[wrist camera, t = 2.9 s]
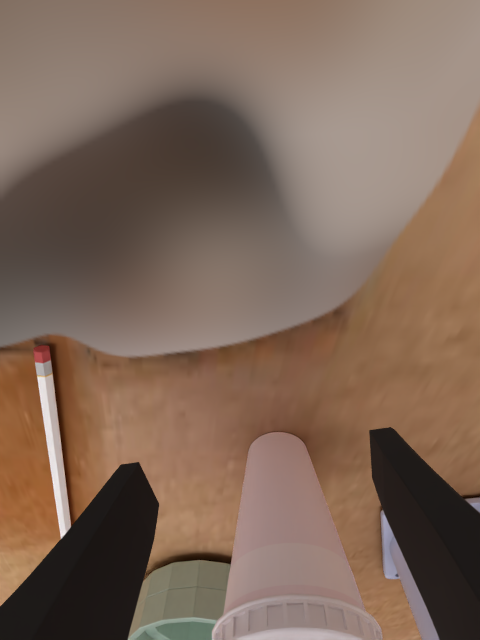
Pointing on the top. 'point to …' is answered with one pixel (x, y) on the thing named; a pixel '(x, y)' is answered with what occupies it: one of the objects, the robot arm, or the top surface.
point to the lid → (181, 601)
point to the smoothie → (289, 556)
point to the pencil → (52, 434)
